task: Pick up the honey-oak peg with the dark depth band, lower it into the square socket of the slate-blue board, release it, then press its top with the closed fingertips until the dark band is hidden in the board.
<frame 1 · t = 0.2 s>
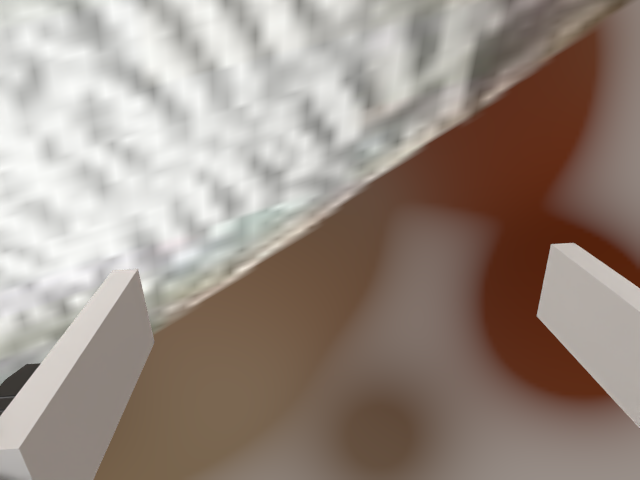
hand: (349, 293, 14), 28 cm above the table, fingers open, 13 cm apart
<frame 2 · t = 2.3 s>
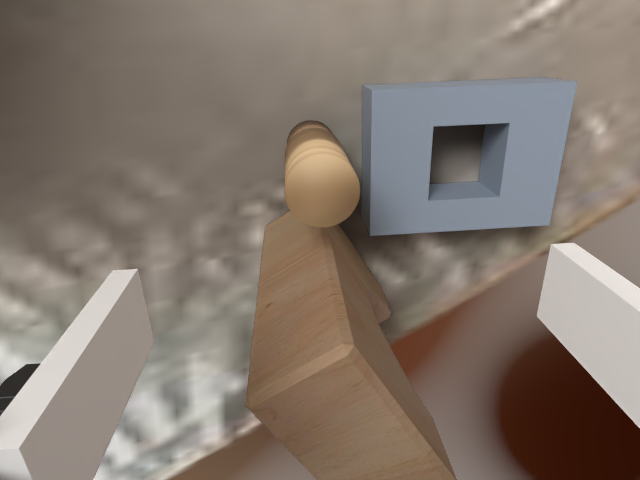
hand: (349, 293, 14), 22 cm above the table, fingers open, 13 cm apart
board: (448, 150, 35), on the table
peg: (310, 144, 34), on the table
decorative block: (324, 257, 39), on the table
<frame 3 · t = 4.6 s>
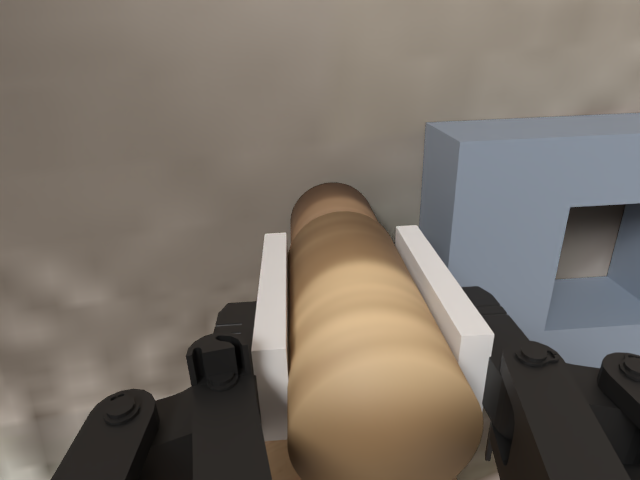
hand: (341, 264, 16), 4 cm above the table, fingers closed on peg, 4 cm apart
board: (564, 229, 21), on the table
peg: (331, 222, 20), on the table, touching gripper
decorative block: (350, 389, 24), on the table
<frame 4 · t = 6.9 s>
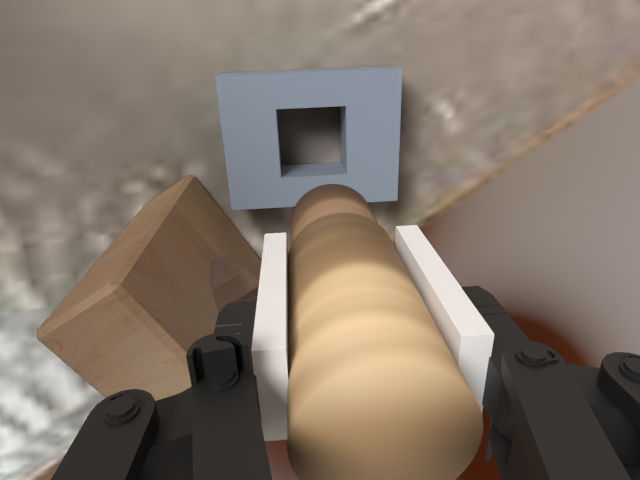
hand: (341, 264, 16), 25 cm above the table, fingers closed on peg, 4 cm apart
board: (309, 133, 39), on the table
peg: (331, 223, 20), point 21 cm above the table, touching gripper
decorative block: (206, 233, 42), on the table
when the fingers open (5 cm above the table, at t = 9.6 s): peg stays where it is, resting in board.
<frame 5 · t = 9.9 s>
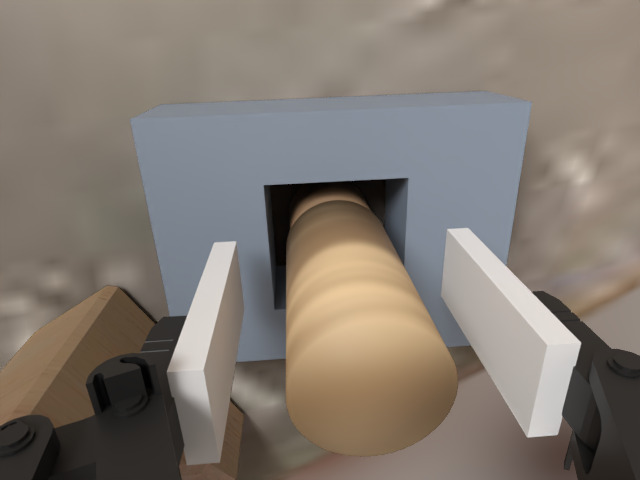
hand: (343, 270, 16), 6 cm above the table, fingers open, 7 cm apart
board: (329, 212, 21), on the table
peg: (328, 212, 21), resting in board
decorative block: (149, 372, 24), on the table
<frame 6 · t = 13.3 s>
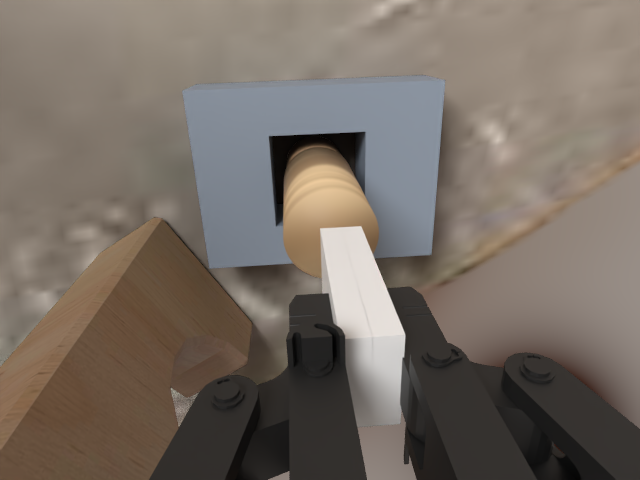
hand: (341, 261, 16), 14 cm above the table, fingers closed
board: (314, 163, 29), on the table
peg: (314, 164, 29), resting in board
decorative block: (181, 289, 33), on the table
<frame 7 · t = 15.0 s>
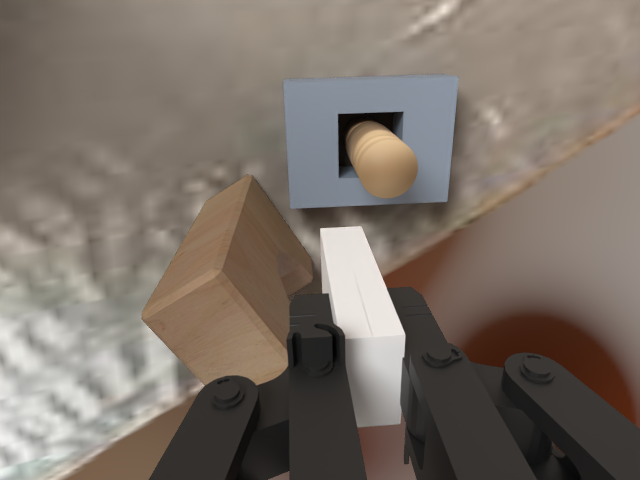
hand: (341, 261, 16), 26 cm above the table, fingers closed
board: (363, 137, 41), on the table
peg: (363, 137, 41), resting in board
decorative block: (260, 231, 44), on the table
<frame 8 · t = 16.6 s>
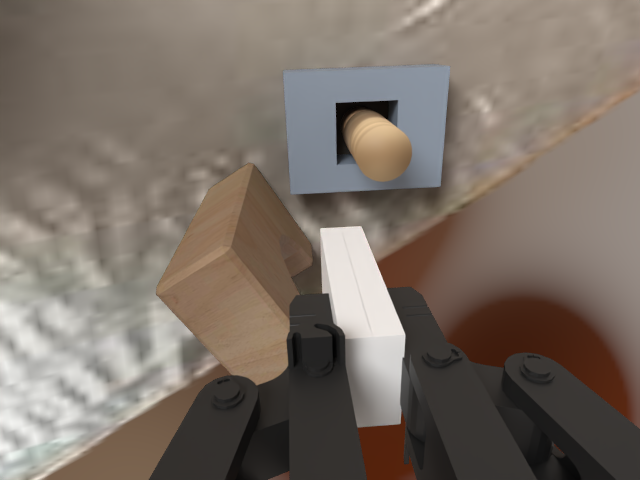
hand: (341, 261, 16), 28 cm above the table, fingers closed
board: (359, 125, 43), on the table
peg: (359, 125, 43), resting in board
decorative block: (261, 217, 46), on the table
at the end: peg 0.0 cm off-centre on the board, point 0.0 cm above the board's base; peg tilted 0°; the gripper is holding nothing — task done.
